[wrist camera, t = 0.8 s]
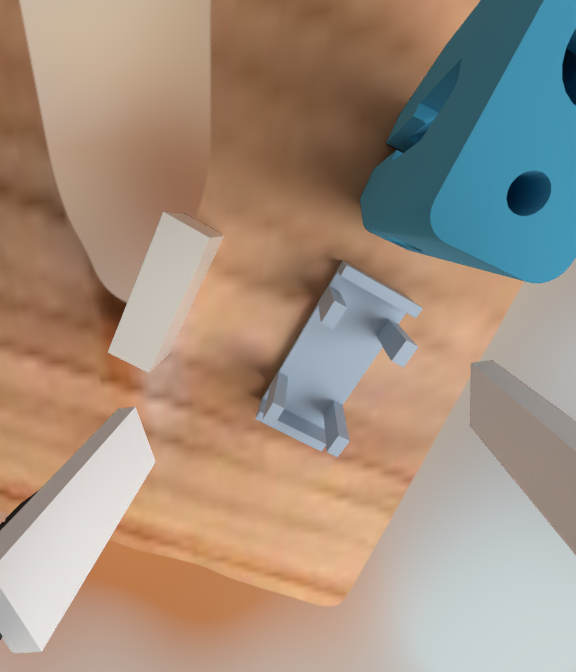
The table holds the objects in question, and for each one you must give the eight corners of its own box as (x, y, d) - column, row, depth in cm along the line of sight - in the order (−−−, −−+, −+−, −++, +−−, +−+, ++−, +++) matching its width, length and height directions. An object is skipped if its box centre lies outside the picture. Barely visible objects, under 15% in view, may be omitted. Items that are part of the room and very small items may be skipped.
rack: (320, 431, 37) (323, 476, 30) (260, 401, 36) (249, 441, 29) (410, 299, 31) (438, 319, 25) (342, 260, 30) (352, 270, 24)
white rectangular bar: (170, 352, 35) (148, 372, 30) (135, 334, 34) (107, 352, 30) (224, 235, 31) (209, 237, 26) (185, 213, 30) (163, 211, 25)
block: (396, 249, 30) (549, 293, 11) (347, 225, 30) (418, 229, 11) (473, 106, 26) (907, -201, 7) (417, 76, 26) (724, -330, 7)
